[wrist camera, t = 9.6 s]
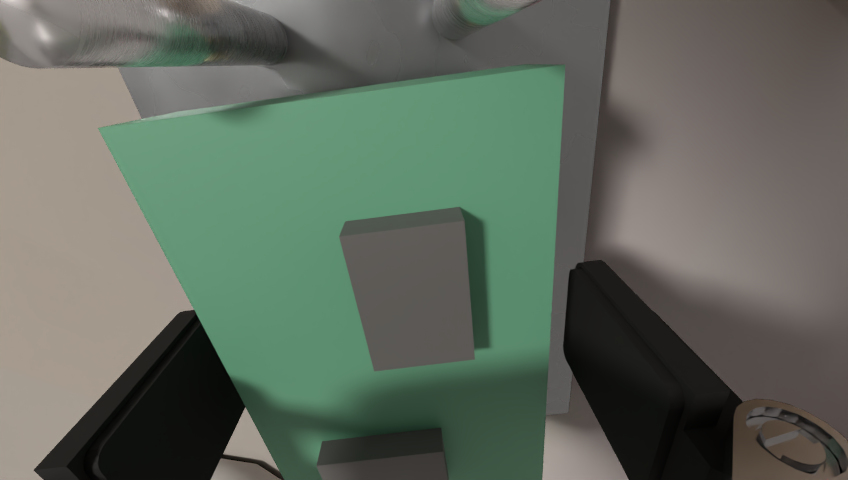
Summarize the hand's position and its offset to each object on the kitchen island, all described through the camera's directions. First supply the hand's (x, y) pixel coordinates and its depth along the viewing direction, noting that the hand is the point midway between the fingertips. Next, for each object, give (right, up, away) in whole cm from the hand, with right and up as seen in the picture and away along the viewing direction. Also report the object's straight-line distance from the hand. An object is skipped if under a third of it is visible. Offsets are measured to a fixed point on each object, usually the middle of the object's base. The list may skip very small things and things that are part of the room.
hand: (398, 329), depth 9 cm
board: (0, 0, 0) cm, 0 cm away
